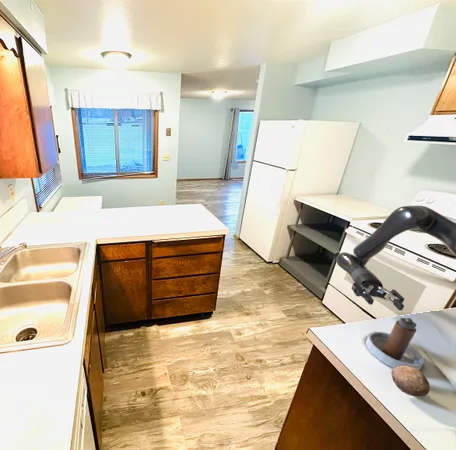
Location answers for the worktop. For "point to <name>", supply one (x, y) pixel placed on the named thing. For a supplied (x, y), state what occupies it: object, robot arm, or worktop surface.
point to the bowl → (414, 360)
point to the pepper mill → (399, 338)
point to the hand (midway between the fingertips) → (386, 305)
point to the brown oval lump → (410, 381)
